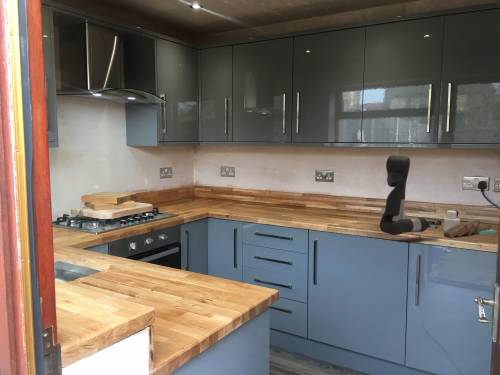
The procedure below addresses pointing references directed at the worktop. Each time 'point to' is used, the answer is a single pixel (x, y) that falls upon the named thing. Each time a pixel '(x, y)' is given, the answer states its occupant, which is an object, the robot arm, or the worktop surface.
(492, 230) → the domino
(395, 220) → the robot arm
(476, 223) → the domino
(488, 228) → the domino
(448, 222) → the medicine bottle
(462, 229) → the domino
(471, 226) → the domino
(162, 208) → the worktop surface
